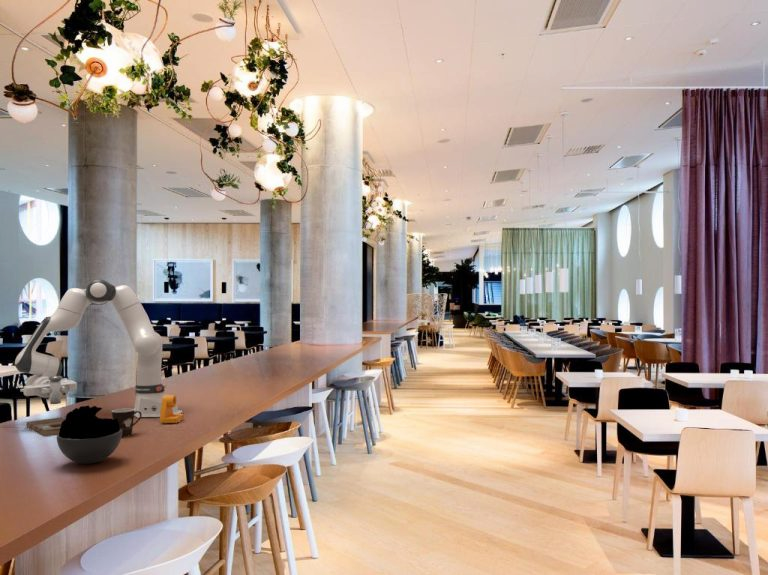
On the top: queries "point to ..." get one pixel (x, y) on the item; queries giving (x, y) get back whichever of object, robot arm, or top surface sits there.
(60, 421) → the hole board
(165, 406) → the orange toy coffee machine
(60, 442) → the bowl of black rocks
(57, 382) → the glass spice jar
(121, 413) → the coffee mug
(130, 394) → the top surface
